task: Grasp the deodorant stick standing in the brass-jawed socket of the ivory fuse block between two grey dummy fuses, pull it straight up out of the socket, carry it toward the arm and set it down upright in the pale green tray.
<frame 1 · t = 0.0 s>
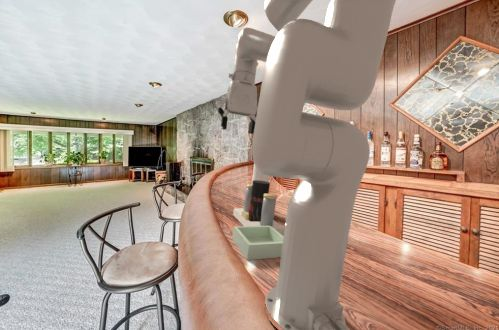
hand: (237, 131, 75), 31 cm above the countertop, fingers open, 9 cm apart
fuse block: (255, 224, 76), on the countertop
deodorant: (255, 224, 76), resting in fuse block
cylindrical container: (256, 211, 92), on the countertop
tray: (259, 247, 58), on the countertop
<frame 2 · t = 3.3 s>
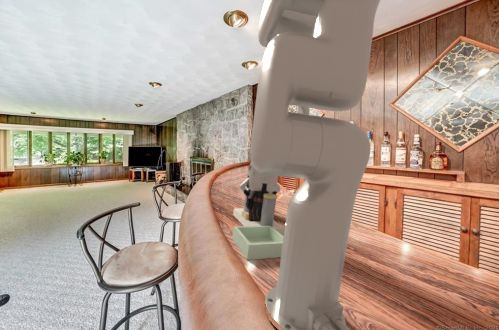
hand: (257, 208, 75), 6 cm above the countertop, fingers closed on deodorant, 5 cm apart
deodorant: (255, 224, 76), resting in fuse block, touching gripper
everything else where it was.
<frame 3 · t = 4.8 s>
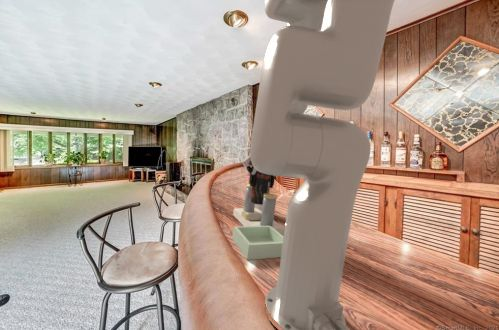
hand: (261, 186, 74), 14 cm above the countertop, fingers closed on deodorant, 5 cm apart
deodorant: (259, 203, 75), point 8 cm above the countertop, touching gripper
everything else where it was.
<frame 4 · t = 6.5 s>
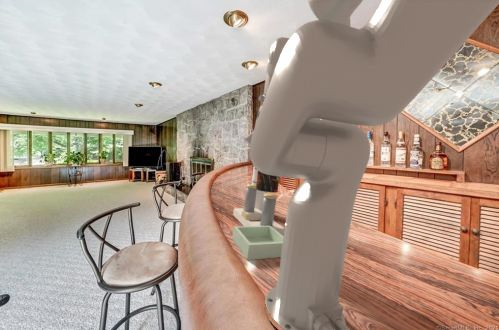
hand: (269, 170, 59), 21 cm above the countertop, fingers closed on deodorant, 5 cm apart
deodorant: (266, 191, 59), point 15 cm above the countertop, touching gripper
everything else where it was.
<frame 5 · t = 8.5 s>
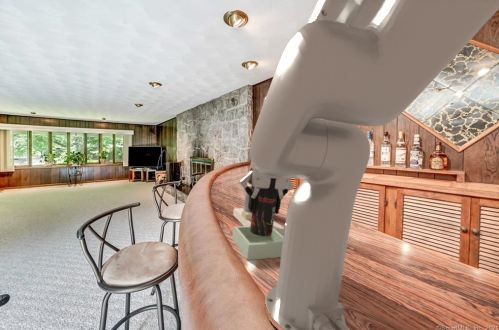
hand: (263, 211, 58), 10 cm above the countertop, fingers closed on deodorant, 5 cm apart
deodorant: (260, 232, 58), point 4 cm above the countertop, touching gripper
everything else where it was.
when the fingers open (8 cm above the countertop, at t = 9.8 s): deodorant drops 1 cm, resting on tray.
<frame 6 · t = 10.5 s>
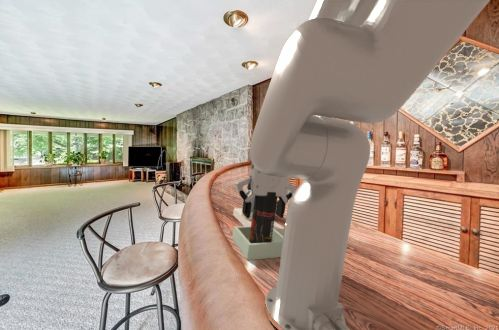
hand: (263, 216, 58), 8 cm above the countertop, fingers open, 9 cm apart
deodorant: (259, 245, 58), resting on tray
everything else where it was.
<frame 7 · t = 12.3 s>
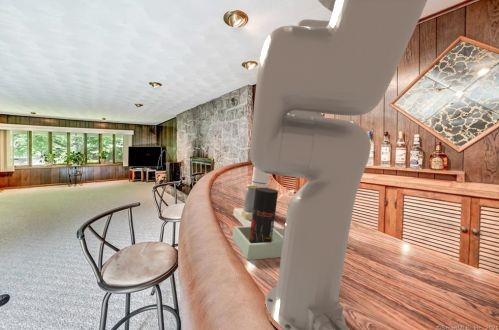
hand: (296, 140, 65), 30 cm above the countertop, fingers open, 9 cm apart
nothing on the countertop moved.
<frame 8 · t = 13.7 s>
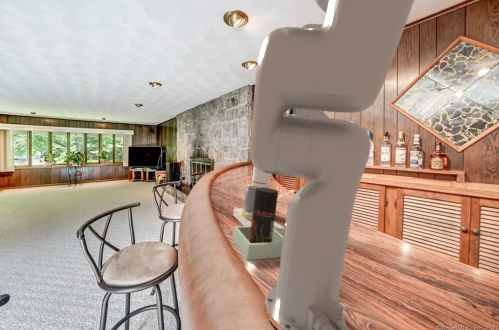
hand: (301, 140, 67), 30 cm above the countertop, fingers open, 9 cm apart
nothing on the countertop moved.
at the end: deodorant inside the target area on the tray (0.2 cm from its centre), point 0.4 cm above the tray's base; deodorant tilted 0°; the gripper is holding nothing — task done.
